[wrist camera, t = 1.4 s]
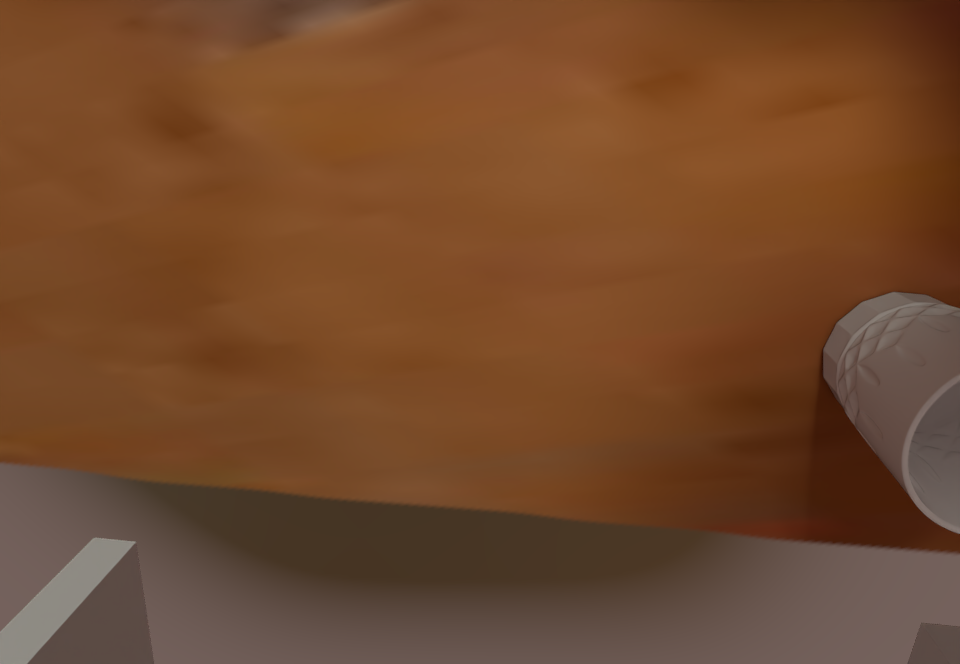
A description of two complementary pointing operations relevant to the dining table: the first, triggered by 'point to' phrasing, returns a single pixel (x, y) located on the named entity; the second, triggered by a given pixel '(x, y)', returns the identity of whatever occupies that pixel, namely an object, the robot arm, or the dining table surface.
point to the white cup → (904, 393)
